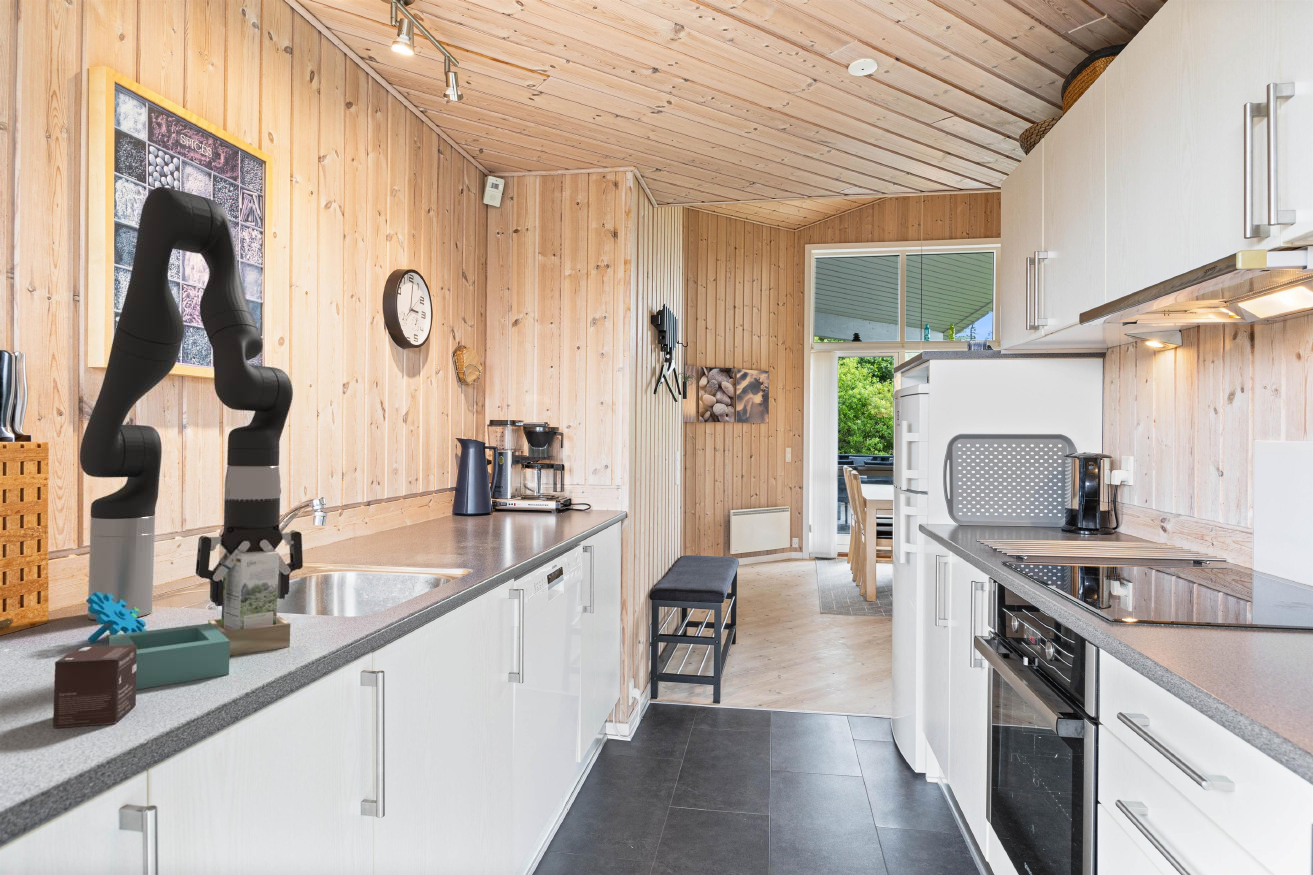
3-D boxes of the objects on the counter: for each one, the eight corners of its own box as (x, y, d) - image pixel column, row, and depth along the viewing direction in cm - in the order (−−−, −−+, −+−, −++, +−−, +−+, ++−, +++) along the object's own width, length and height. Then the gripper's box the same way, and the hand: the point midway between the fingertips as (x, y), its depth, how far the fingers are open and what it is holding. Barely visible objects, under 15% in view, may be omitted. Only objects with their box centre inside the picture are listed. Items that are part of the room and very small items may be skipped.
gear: (129, 639, 110) (81, 590, 110) (94, 668, 109) (46, 619, 109) (165, 630, 121) (122, 586, 121) (134, 657, 120) (90, 613, 120)
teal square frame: (108, 668, 102) (109, 635, 102) (209, 653, 110) (210, 623, 110) (119, 692, 93) (120, 655, 93) (228, 674, 101) (229, 640, 101)
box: (115, 725, 83) (117, 658, 83) (50, 729, 81) (52, 661, 81) (136, 706, 88) (138, 643, 88) (76, 710, 87) (78, 646, 87)
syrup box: (257, 637, 119) (260, 546, 119) (277, 644, 115) (279, 550, 115) (219, 645, 114) (222, 549, 114) (238, 652, 111) (241, 554, 111)
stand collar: (207, 642, 115) (208, 620, 115) (272, 633, 121) (273, 612, 121) (221, 656, 108) (222, 632, 108) (289, 646, 114) (290, 623, 114)
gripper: (295, 492, 122) (292, 592, 122) (193, 495, 113) (191, 603, 113) (309, 495, 117) (307, 600, 116) (204, 498, 107) (201, 612, 107)
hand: (250, 601), depth 115 cm, fingers open, 8 cm apart
